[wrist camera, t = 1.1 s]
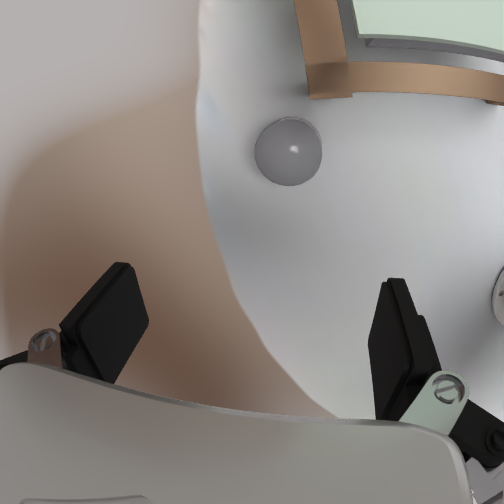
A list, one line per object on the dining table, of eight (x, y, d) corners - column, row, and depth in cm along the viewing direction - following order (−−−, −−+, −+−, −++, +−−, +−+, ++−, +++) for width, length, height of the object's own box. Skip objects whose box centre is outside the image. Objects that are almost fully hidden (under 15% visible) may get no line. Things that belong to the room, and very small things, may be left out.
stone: (318, 114, 26) (317, 118, 21) (324, 169, 28) (324, 184, 24) (261, 120, 27) (250, 125, 23) (269, 173, 29) (259, 188, 25)
